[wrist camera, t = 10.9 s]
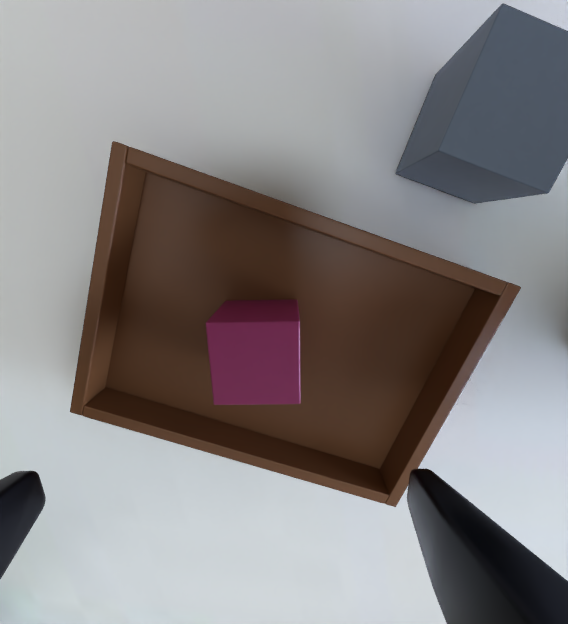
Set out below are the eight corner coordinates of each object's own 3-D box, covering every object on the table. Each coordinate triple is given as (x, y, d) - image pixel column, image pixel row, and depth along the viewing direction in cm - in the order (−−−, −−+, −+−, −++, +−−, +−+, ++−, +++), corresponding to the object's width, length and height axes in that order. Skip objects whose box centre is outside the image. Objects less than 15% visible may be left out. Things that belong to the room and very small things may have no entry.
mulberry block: (297, 299, 16) (300, 320, 12) (298, 365, 17) (300, 404, 13) (225, 300, 16) (204, 322, 12) (230, 366, 17) (213, 405, 13)
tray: (486, 278, 16) (522, 287, 14) (382, 472, 20) (395, 507, 17) (141, 155, 15) (111, 139, 12) (98, 387, 19) (69, 412, 16)
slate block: (521, 108, 14) (625, 55, 10) (475, 203, 15) (548, 193, 11) (435, 73, 14) (503, 1, 9) (395, 173, 15) (438, 150, 11)
